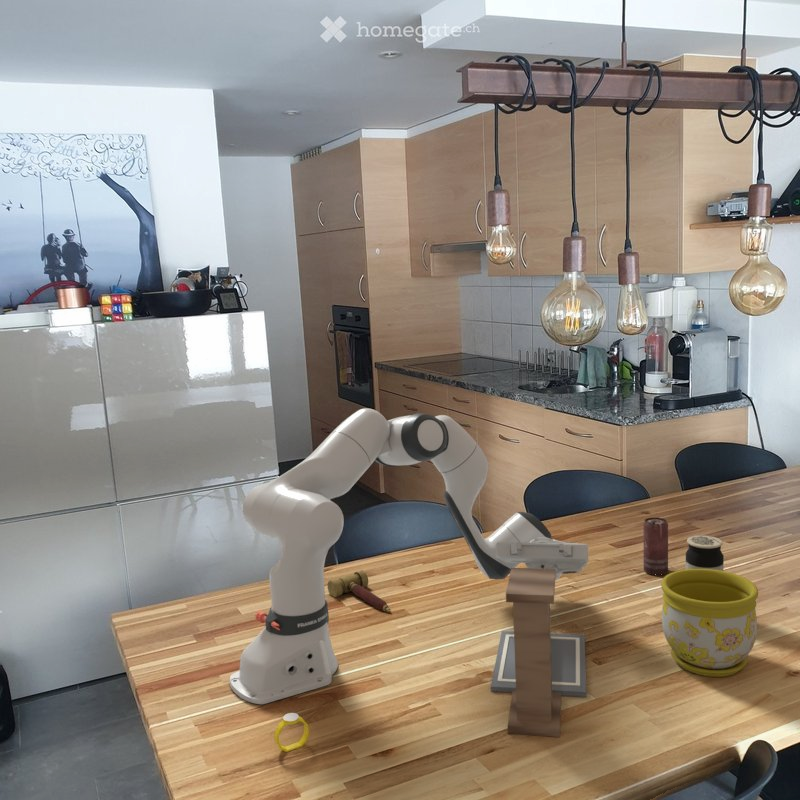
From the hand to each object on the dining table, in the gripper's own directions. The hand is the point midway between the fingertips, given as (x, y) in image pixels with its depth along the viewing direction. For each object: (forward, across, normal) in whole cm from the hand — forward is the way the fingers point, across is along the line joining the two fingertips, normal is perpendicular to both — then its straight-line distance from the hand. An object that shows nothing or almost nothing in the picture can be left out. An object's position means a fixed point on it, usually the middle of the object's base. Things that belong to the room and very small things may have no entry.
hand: (539, 546), depth 170 cm
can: (-48, +27, -2) cm, 55 cm away
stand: (+15, 0, +34) cm, 37 cm away
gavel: (-26, -45, +10) cm, 53 cm away
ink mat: (-2, 0, +24) cm, 24 cm away
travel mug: (-25, +36, +11) cm, 45 cm away
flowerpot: (-6, +33, +21) cm, 40 cm away
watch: (+28, -41, +41) cm, 65 cm away
